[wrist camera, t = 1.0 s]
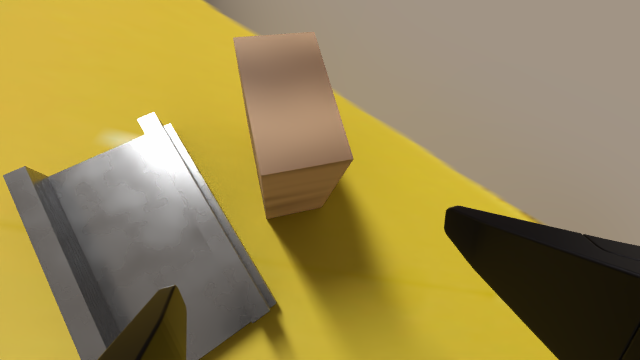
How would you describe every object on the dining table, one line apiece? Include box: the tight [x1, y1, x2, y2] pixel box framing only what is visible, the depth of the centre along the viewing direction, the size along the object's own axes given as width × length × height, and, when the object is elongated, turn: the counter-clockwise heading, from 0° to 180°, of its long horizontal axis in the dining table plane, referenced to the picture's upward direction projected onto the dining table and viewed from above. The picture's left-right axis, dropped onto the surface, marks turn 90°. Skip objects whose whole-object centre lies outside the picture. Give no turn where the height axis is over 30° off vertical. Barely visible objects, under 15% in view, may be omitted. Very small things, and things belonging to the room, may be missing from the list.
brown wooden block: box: [233, 32, 353, 219], centre depth 19 cm, size 8×4×10 cm, turn 14°
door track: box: [3, 112, 277, 360], centre depth 19 cm, size 16×10×3 cm, turn 34°
